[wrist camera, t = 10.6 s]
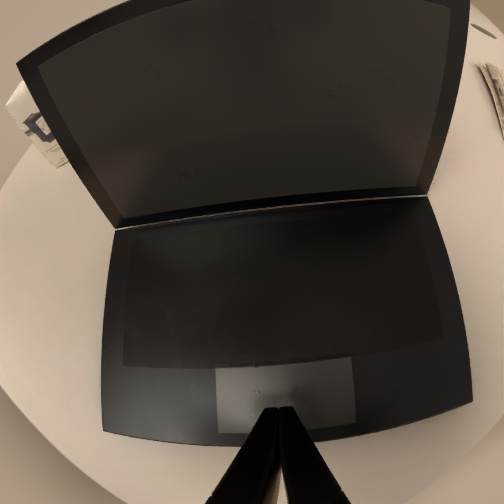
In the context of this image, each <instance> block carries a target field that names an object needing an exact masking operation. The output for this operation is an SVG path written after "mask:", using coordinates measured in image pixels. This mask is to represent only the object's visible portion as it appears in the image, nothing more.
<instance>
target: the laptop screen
mask: <svg viewBox="0 0 504 504" xmlns="http://www.w3.org/2000/svg"><path fill="white" fill-rule="evenodd" d="M469 12H470V0H128V1H126V2H123V3H121V4H118V5H116V6H114V7H111V8H109V9H107V10H104V11H102V12H100V13H98V14H96V15H94V16H92V17H90V18H88V19H86V20H84V21H82V22H80V23H78V24H76V25H74V26H73V27H71V28H69V29H67V30H66V31H64V32H62V33H60V34H59V35H57V36H56V37H54V38H52V39H50V40H49V41H47V42H46V43H44V44H43V45H41V46H40V47H38V48H36V49H35V50H33V51H32V52H31V53H29V54H28V55H26V56H25V57H24V58H22V59H21V60H19V61H18V62H17V63H16V65H17V67H18V69H19V71H20V74H21V76H22V78H23V80H24V82H25V84H26V86H27V88H28V90H29V92H30V94H31V96H32V98H33V100H34V102H35V104H36V105H37V107H38V109H39V111H40V113H41V115H42V117H43V118H44V120H45V122H46V124H47V125H48V127H49V129H50V131H51V132H52V134H53V136H54V138H55V139H56V141H57V143H58V144H59V146H60V148H61V149H62V151H63V153H64V154H65V156H66V157H67V159H68V161H69V162H70V164H71V165H72V167H73V168H74V170H75V172H76V173H77V175H78V176H79V178H80V179H81V181H82V182H83V184H84V185H85V187H86V188H87V190H88V191H89V193H90V194H91V196H92V197H93V199H94V200H95V201H96V203H97V204H98V206H99V207H100V209H101V210H102V211H103V213H104V214H105V216H106V217H107V218H108V220H109V221H110V223H111V224H112V225H113V227H114V228H115V229H118V228H124V227H130V226H136V225H142V224H148V223H154V222H161V221H167V220H174V219H181V218H188V217H195V216H202V215H210V214H217V213H225V212H233V211H241V210H249V209H258V208H266V207H276V206H285V205H295V204H305V203H315V202H326V201H337V200H350V199H362V198H376V197H392V196H409V195H427V193H428V191H429V188H430V185H431V183H432V180H433V177H434V174H435V171H436V168H437V165H438V162H439V159H440V156H441V153H442V150H443V147H444V143H445V140H446V137H447V133H448V130H449V126H450V122H451V119H452V115H453V111H454V107H455V103H456V98H457V94H458V89H459V84H460V79H461V74H462V69H463V63H464V57H465V50H466V42H467V34H468V24H469Z"/></svg>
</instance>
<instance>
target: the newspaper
mask: <svg viewBox="0 0 504 504" xmlns="http://www.w3.org/2000/svg"><path fill="white" fill-rule="evenodd" d="M478 64H479V66H480V68H481V70H482V72H483V74H484V77H485V79H486V81H487V83H488V85H489V87H490V90H491V92H492V95H493V98H494V102H495V105H496V109H497V112H498V116H499V120H500V124H501V128H502V132H503V137H504V71H503V70H501V69H500V68H498V67H496V66H495V65H493V64H491V63H487V62H486V63H485V65H486V67H487V68H486V67H485V66H484V65H482V64H481V63H479V62H478Z"/></svg>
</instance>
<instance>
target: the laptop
mask: <svg viewBox="0 0 504 504" xmlns="http://www.w3.org/2000/svg"><path fill="white" fill-rule="evenodd" d="M472 401H473V394H472V379H471V368H470V359H469V351H468V343H467V337H466V331H465V325H464V319H463V314H462V309H461V304H460V300H459V295H458V291H457V287H456V283H455V279H454V275H453V271H452V267H451V264H450V260H449V257H448V253H447V250H446V247H445V244H444V241H443V238H442V234H441V232H440V229H439V226H438V223H437V220H436V217H435V215H434V212H433V209H432V207H431V204H430V202H429V199H428V197H427V196H424V197H405V198H389V199H375V200H361V201H349V202H337V203H325V204H314V205H304V206H294V207H284V208H275V209H266V210H257V211H249V212H240V213H232V214H224V215H217V216H209V217H202V218H194V219H187V220H180V221H173V222H166V223H160V224H153V225H147V226H140V227H134V228H128V229H122V230H116V231H115V234H114V240H113V246H112V252H111V258H110V265H109V272H108V280H107V288H106V297H105V307H104V319H103V334H102V356H101V403H102V425H103V431H105V432H109V433H114V434H119V435H124V436H129V437H135V438H141V439H147V440H154V441H161V442H169V443H178V444H189V445H203V446H225V447H242V445H243V444H244V442H245V440H246V439H247V437H248V435H249V433H250V432H251V430H252V428H253V427H254V425H255V423H256V421H257V420H258V418H259V416H260V414H261V412H262V411H263V409H264V408H266V407H277V408H278V409H279V407H282V406H292V407H293V408H294V409H295V411H296V413H297V415H298V416H299V418H300V420H301V422H302V423H303V425H304V427H305V429H306V430H307V432H308V434H309V435H310V437H311V439H312V441H313V442H314V443H315V442H323V441H330V440H337V439H343V438H349V437H355V436H360V435H365V434H370V433H375V432H379V431H383V430H388V429H392V428H396V427H399V426H403V425H407V424H410V423H414V422H417V421H421V420H424V419H427V418H430V417H433V416H436V415H439V414H442V413H445V412H448V411H450V410H453V409H456V408H458V407H461V406H463V405H466V404H468V403H471V402H472Z"/></svg>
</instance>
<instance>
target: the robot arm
mask: <svg viewBox="0 0 504 504" xmlns="http://www.w3.org/2000/svg"><path fill="white" fill-rule="evenodd" d="M281 466H282V473H283V480H284V485H285V491H286V497H287V503H288V504H351V503H350V501H349V500H348V498H347V497H346V495H345V493H344V492H343V491H341V490H342V489H341V487H340V486H339V484H338V482H337V481H336V479H335V477H334V476H333V474H332V473H331V471H330V469H329V468H328V466H327V464H326V463H325V461H324V459H323V458H322V456H321V454H320V453H319V451H318V449H317V447H316V446H315V444H314V442H313V441H312V439H311V437H310V435H309V434H308V432H307V430H306V429H305V427H304V425H303V423H302V422H301V420H300V418H299V416H298V415H297V413H296V411H295V409H294V408H293V407H292V406H282V407H279V409H278V408H277V407H266V408H264V409H263V411H262V412H261V414H260V416H259V418H258V420H257V421H256V423H255V425H254V427H253V428H252V430H251V432H250V433H249V435H248V437H247V439H246V440H245V442H244V444H243V445H242V447H241V449H240V450H239V452H238V454H237V455H236V457H235V458H234V460H233V462H232V463H231V465H230V466H229V468H228V470H227V471H226V473H225V474H224V476H223V477H222V479H221V480H220V482H219V484H218V485H217V487H216V488H215V490H214V491H213V493H212V494H211V495H212V496H210V497H209V498H208V500H207V501H206V503H205V504H277V499H278V492H279V485H280V478H281Z"/></svg>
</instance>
